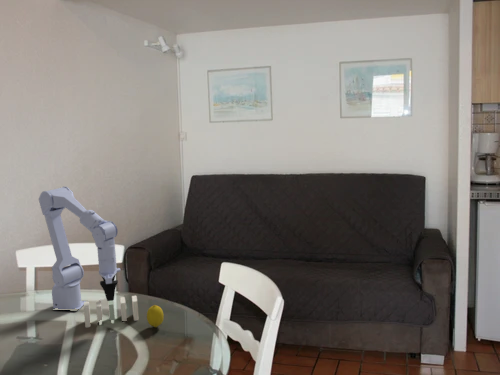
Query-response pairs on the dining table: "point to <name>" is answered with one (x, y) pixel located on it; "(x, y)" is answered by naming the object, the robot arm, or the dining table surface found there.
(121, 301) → the domino
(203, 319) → the dining table surface
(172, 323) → the dining table surface
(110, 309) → the domino
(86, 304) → the light grey rectangular block
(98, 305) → the domino
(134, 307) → the domino
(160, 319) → the lemon
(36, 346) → the dining table surface
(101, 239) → the robot arm
